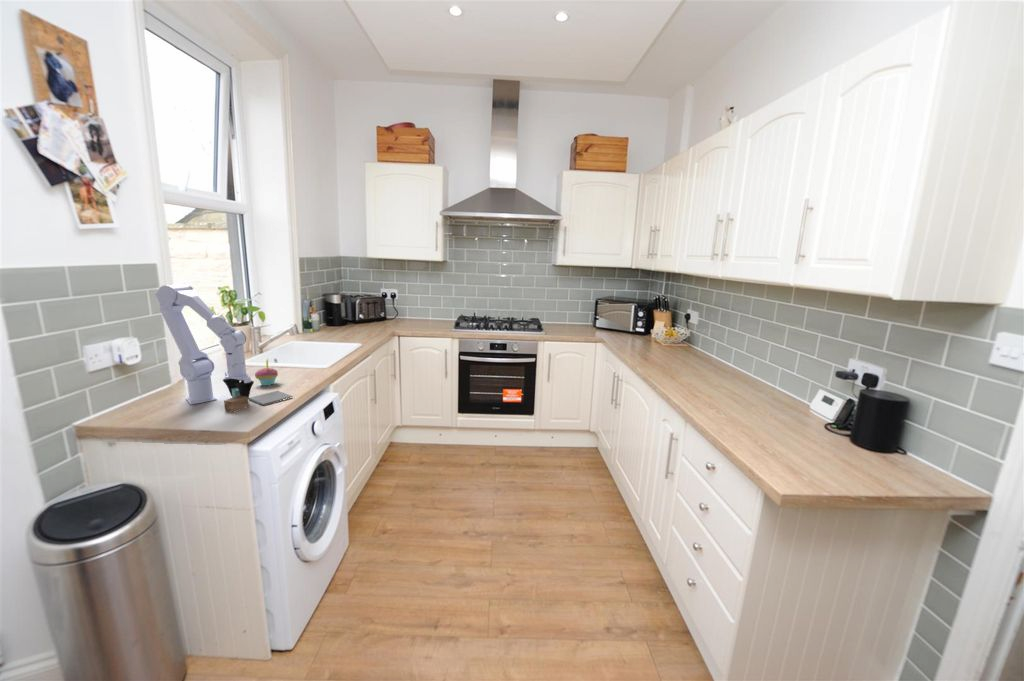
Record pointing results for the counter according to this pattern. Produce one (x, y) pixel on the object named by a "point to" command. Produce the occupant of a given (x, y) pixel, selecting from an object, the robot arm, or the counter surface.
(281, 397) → the slate coaster
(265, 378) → the cupcake
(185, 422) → the counter surface
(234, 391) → the teal block
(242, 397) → the walnut block
